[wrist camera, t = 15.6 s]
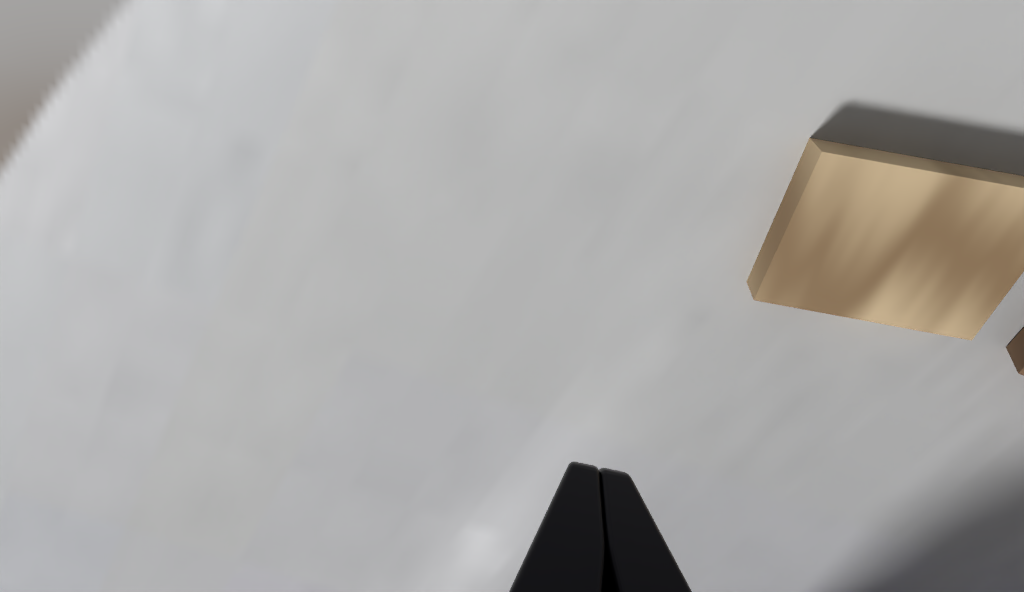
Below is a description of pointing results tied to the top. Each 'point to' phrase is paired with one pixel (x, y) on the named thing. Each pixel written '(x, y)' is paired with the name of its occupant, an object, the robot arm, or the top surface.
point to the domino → (1017, 351)
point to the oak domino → (893, 240)
